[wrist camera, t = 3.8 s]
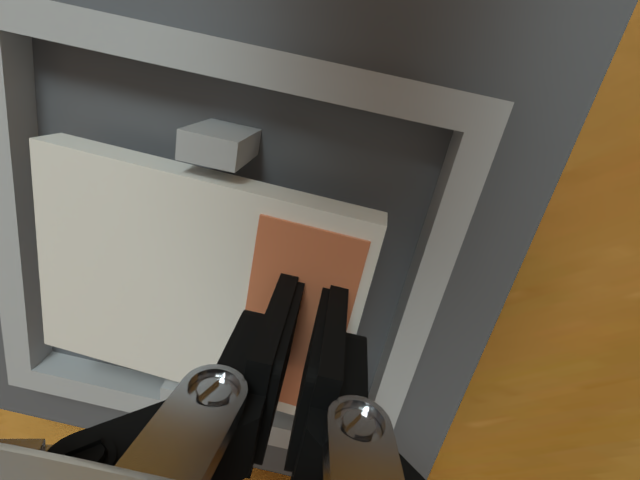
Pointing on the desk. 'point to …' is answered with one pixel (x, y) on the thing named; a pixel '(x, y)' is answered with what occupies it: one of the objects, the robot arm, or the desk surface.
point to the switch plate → (312, 161)
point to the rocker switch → (183, 256)
